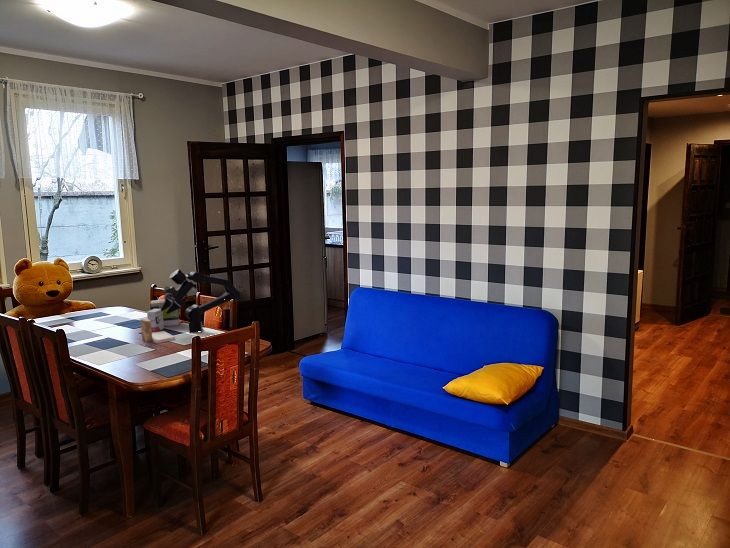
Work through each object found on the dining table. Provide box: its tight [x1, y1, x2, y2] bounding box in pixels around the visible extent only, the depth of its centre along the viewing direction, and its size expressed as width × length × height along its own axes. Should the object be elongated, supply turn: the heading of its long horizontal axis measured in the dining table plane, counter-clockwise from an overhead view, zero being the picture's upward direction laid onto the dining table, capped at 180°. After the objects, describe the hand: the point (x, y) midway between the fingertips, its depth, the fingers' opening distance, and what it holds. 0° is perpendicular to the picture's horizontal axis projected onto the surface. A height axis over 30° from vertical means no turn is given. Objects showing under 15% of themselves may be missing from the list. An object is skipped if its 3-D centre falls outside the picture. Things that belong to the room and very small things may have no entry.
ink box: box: [146, 309, 165, 333], centre depth 314 cm, size 9×5×12 cm, turn 168°
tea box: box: [149, 299, 180, 327], centre depth 325 cm, size 15×10×15 cm, turn 108°
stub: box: [140, 317, 153, 343], centre depth 292 cm, size 3×7×11 cm, turn 39°
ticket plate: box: [151, 330, 176, 344], centre depth 297 cm, size 10×17×2 cm, turn 39°
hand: (163, 312), depth 298 cm, fingers open, 9 cm apart
